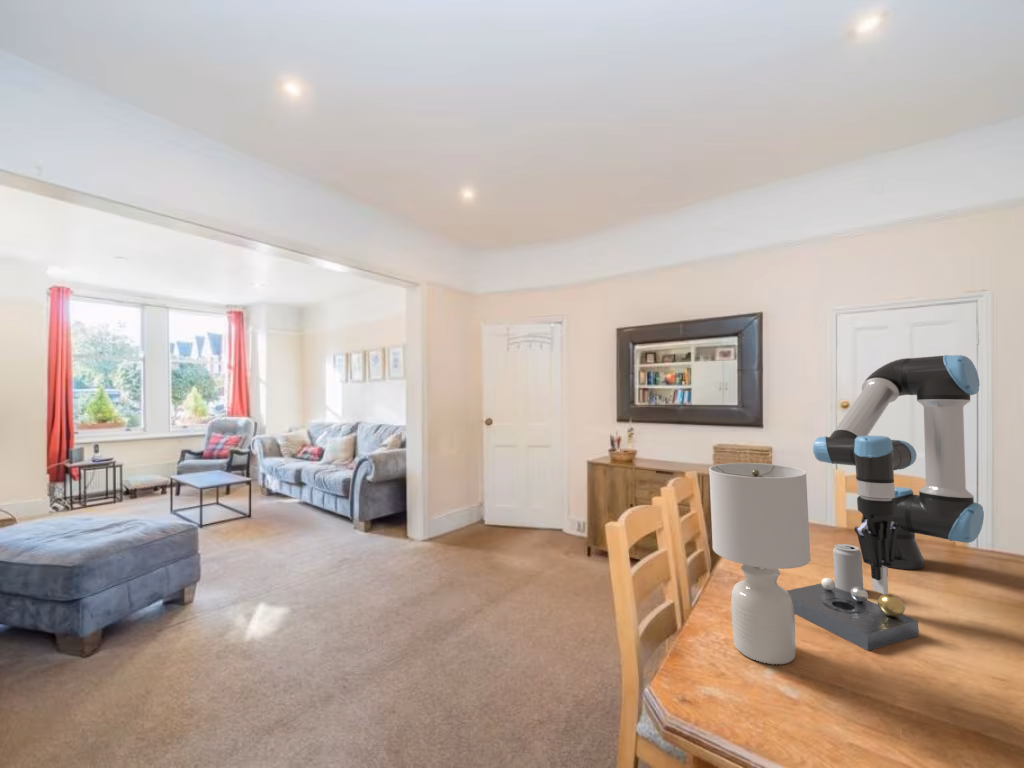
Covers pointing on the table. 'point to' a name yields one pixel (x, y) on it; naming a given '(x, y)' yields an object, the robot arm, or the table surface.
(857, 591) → the steel ball
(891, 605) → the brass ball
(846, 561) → the beverage can
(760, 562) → the lamp
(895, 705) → the table surface
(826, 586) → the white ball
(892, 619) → the plate
